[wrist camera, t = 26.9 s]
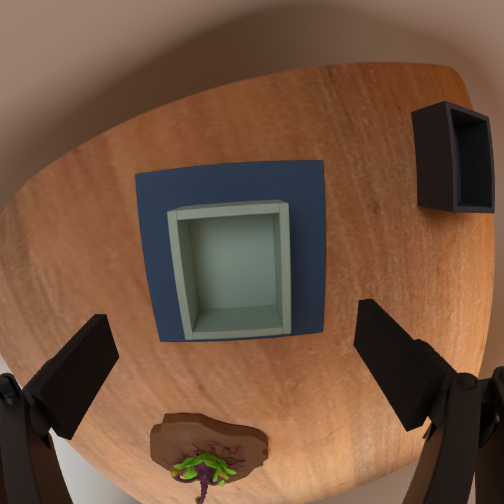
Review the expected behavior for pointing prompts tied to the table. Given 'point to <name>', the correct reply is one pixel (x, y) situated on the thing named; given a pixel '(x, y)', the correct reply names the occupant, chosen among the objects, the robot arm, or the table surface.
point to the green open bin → (232, 268)
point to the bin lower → (454, 159)
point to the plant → (206, 450)
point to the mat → (237, 190)
